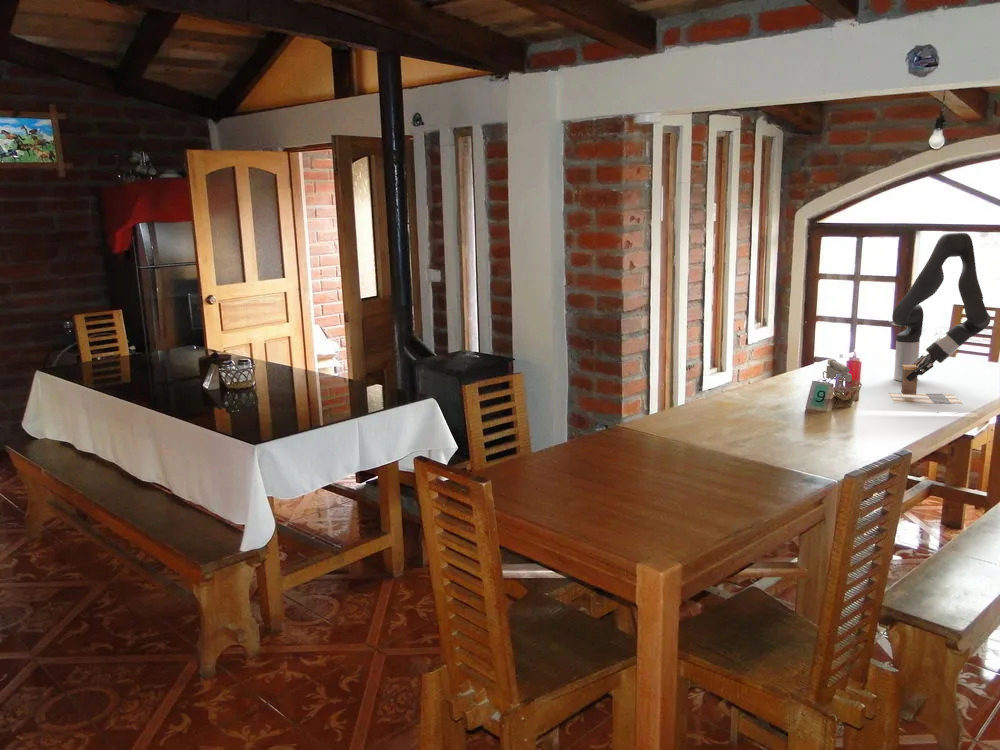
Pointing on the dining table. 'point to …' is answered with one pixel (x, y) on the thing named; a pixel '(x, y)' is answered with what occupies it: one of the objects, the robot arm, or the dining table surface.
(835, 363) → the geiger counter
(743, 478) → the dining table surface
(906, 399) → the subfloor panel
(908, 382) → the walnut block
